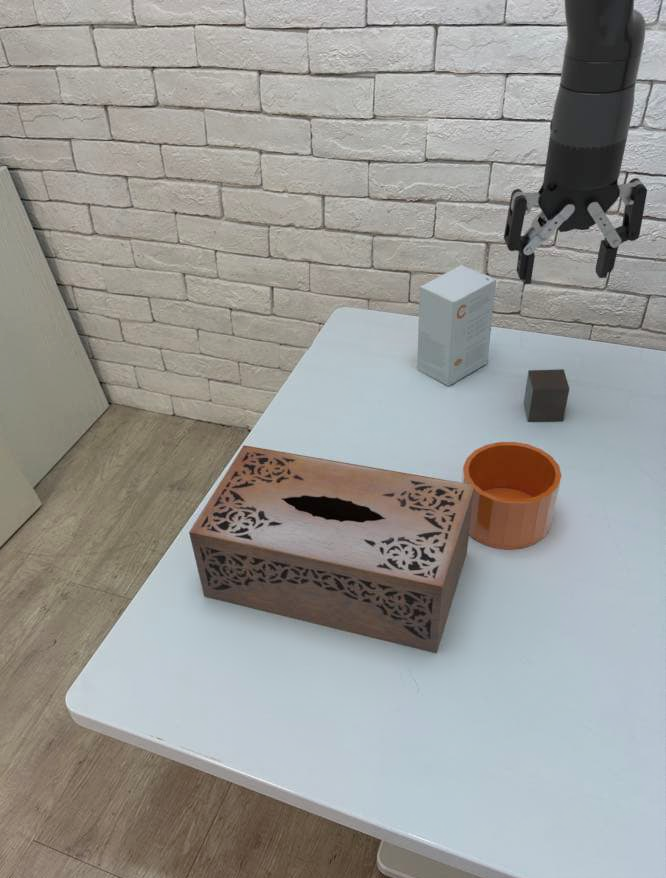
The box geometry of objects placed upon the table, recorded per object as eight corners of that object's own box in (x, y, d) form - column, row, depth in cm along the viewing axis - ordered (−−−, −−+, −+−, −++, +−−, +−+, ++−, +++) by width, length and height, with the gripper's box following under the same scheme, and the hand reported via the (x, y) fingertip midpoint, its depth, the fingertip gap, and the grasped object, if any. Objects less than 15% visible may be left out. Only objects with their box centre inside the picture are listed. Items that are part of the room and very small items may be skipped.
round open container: (544, 487, 95) (553, 440, 90) (557, 549, 88) (568, 502, 83) (456, 488, 96) (460, 442, 91) (462, 549, 89) (467, 503, 84)
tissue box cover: (204, 596, 88) (189, 532, 81) (253, 509, 97) (243, 445, 90) (436, 653, 80) (442, 587, 73) (466, 552, 89) (474, 485, 82)
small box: (455, 347, 117) (461, 263, 108) (488, 364, 114) (498, 278, 104) (415, 369, 114) (418, 285, 105) (448, 387, 111) (454, 301, 101)
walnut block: (557, 401, 106) (564, 369, 102) (563, 421, 103) (569, 389, 99) (523, 401, 107) (528, 370, 103) (527, 422, 104) (533, 389, 100)
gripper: (525, 151, 80) (507, 299, 91) (673, 136, 79) (636, 288, 90) (510, 125, 85) (494, 268, 97) (649, 111, 84) (616, 257, 95)
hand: (563, 278), depth 93 cm, fingers open, 8 cm apart
